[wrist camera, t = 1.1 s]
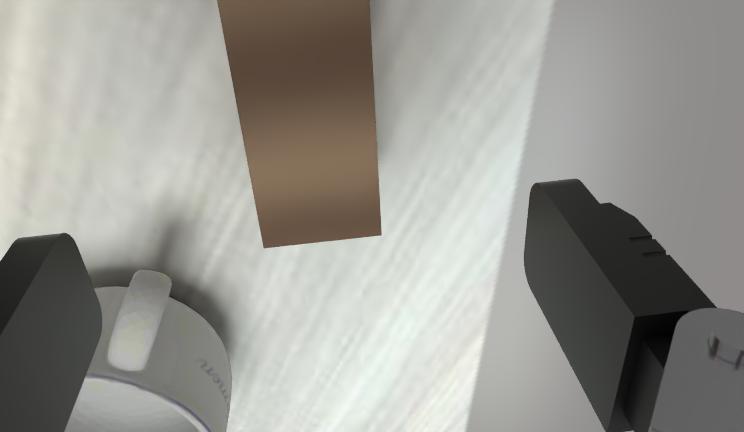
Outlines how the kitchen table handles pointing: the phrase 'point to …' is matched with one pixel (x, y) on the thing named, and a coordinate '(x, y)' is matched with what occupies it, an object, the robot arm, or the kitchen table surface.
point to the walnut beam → (306, 116)
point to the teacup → (153, 365)
